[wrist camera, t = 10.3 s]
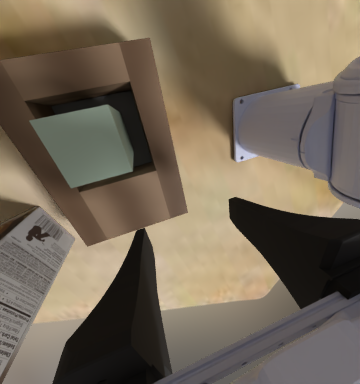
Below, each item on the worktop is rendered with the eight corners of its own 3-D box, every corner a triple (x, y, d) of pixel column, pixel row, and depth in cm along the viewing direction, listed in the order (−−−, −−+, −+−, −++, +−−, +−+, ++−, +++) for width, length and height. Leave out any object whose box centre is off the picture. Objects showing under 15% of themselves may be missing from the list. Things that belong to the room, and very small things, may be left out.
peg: (120, 112, 15) (107, 104, 8) (133, 151, 17) (132, 171, 10) (79, 121, 15) (28, 120, 8) (98, 160, 16) (70, 188, 9)
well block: (146, 58, 14) (149, 37, 11) (179, 197, 22) (187, 212, 18) (7, 81, 13) (-42, 66, 9) (95, 224, 20) (87, 246, 17)
